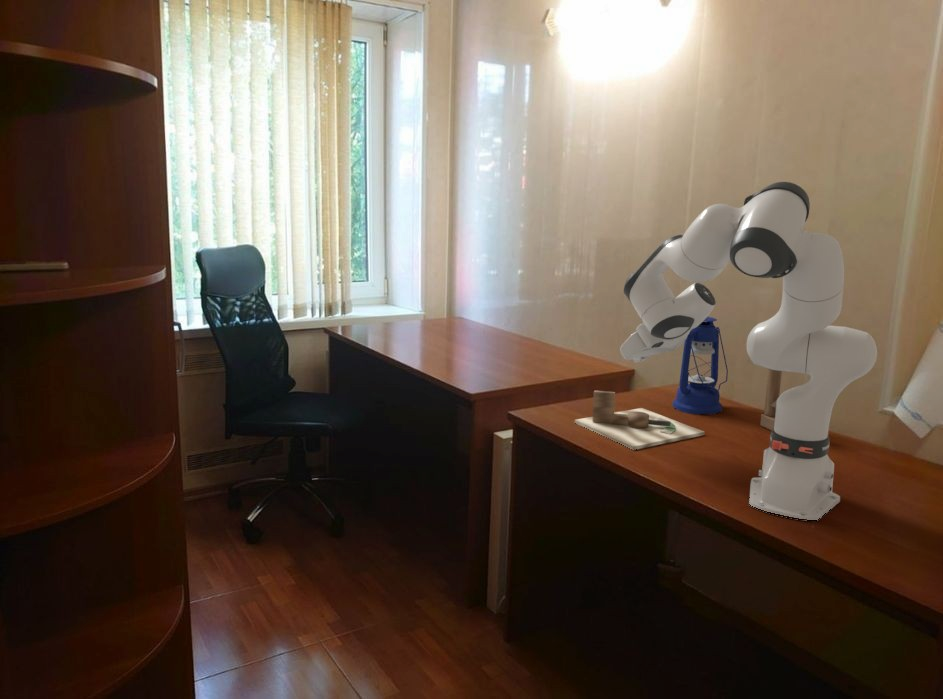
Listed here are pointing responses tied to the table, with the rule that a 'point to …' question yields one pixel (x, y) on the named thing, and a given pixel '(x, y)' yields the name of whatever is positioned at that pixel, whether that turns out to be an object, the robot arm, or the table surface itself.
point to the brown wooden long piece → (605, 413)
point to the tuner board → (641, 431)
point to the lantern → (701, 389)
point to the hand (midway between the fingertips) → (637, 359)
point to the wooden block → (771, 398)
